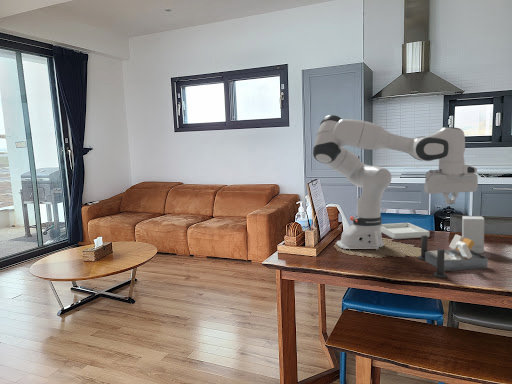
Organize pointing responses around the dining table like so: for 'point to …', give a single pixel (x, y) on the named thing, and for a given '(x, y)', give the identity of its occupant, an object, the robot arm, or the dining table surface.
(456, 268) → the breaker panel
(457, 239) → the paddle
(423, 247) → the cord posts
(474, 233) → the skincare box
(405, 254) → the dining table surface
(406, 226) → the tray
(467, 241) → the paddle amber
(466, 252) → the paddle
